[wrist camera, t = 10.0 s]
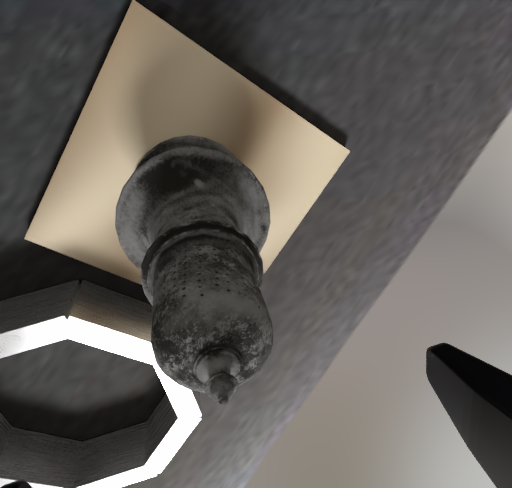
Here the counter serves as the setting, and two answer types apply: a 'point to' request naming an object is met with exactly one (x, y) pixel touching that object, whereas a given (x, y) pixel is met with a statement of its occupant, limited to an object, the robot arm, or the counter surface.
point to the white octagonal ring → (107, 338)
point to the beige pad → (166, 127)
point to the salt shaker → (200, 262)
